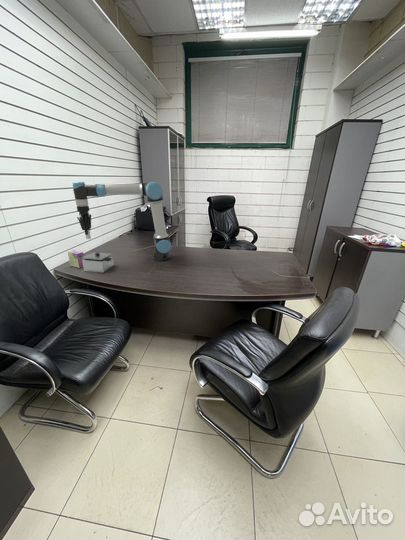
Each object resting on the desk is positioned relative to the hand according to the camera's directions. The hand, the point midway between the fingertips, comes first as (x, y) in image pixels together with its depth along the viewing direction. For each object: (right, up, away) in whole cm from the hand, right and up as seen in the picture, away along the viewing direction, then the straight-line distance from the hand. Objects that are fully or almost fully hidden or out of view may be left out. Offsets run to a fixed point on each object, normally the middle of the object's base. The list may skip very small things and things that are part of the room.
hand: (88, 238), depth 161 cm
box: (-16, -20, +15) cm, 29 cm away
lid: (+3, -13, +8) cm, 15 cm away
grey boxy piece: (+3, -22, +11) cm, 25 cm away
